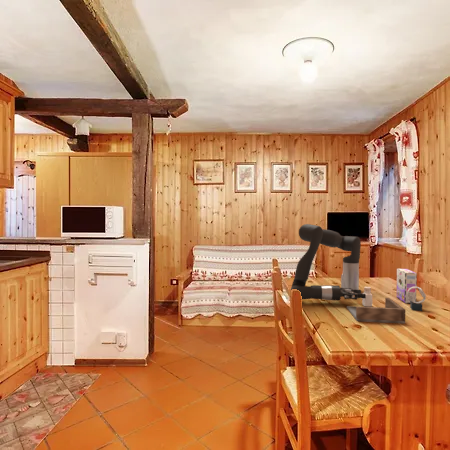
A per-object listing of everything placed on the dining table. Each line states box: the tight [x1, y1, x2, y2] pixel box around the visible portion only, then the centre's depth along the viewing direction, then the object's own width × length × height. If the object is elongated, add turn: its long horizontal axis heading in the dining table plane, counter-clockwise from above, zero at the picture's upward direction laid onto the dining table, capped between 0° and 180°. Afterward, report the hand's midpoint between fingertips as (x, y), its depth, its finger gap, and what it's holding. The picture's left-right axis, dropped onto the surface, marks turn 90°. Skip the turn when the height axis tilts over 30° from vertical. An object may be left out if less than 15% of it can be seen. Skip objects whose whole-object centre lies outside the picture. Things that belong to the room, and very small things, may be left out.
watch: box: [407, 286, 427, 312], centre depth 157 cm, size 6×8×11 cm
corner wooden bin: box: [346, 297, 406, 324], centre depth 147 cm, size 20×20×6 cm
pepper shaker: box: [361, 286, 373, 307], centre depth 163 cm, size 4×4×10 cm
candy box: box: [396, 268, 418, 304], centre depth 173 cm, size 14×6×16 cm, turn 168°
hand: (363, 293), depth 163 cm, fingers open, 8 cm apart
